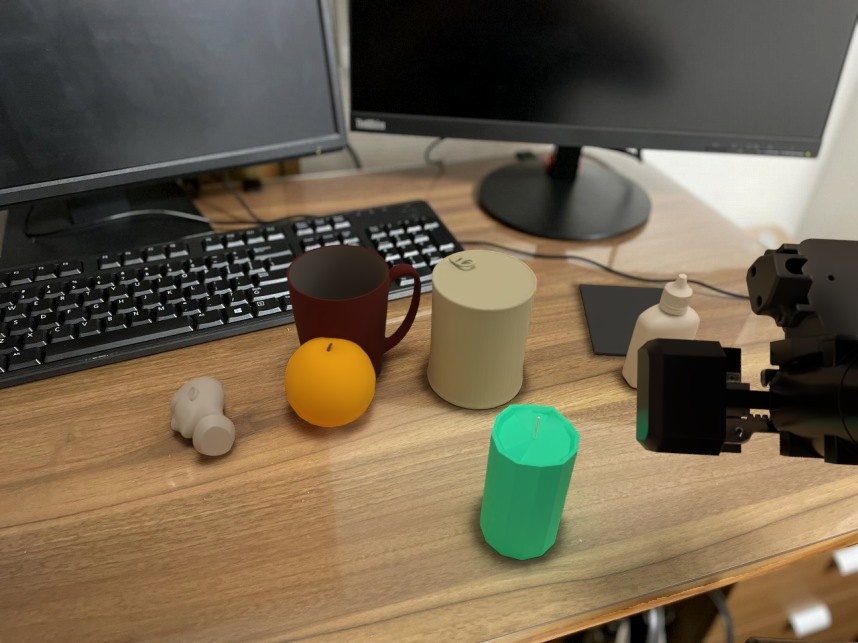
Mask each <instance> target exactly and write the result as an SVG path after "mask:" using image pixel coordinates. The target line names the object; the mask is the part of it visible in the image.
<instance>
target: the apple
mask: <svg viewBox="0 0 858 643" xmlns="http://www.w3.org/2000/svg"><path fill="white" fill-rule="evenodd" d="M283 378H284V379H283V380H284V381H283V384H284V390H285V394H286V398H287V402H288V404H289V405H290V406H291V408H292V409H293V411H294V412H295V414H296V415H297V416H298V417H300V418H301V419H303V420H304V421H306V422H307V423H309V424H311V425H314V426H318V427H321V428H323V427H324V428H336V427H340V426H345V425H347V424H350V423H352V422H354V421H356V420H357V419H358V418H359V417H360V416H362V415H363V414H364V413H365V412H366V411H367V410H368V408H369V406H370V404H371V403H372V401H373V399H374V397H375V393H376V381H377V378H376V376H375V371H374V368H373V366H372V363H371V360H370V358H369V357H368V355H367V354H366V353H365V352H364V351H363V350H362V348H361V347H360V346H358V345H357V344H356V343H354V342H351V341H349V340H345V339H337V338H324V337H319V338H314V339H312V340H309V341H308V342H306V343H305V344H303V345H302V346H300V345H299V347H298V348H297V349H296V350H295V351H294V353H293V354H292V355H291V357H290V358H289V360H288V362H287V364H286V368H285V373H284V377H283Z"/></svg>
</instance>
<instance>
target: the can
mask: <svg viewBox="0 0 858 643" xmlns="http://www.w3.org/2000/svg"><path fill="white" fill-rule="evenodd" d="M537 288H538V280H537V276H536V273H535V272H534V271H533V270H532V268H531V267H530V266H529V265H527V263H525V262H524V261H522V260H521V259H519V258H517V257H515V256H513V255H510V254H508V253H504V252H500V251H497V250H489V249H469V250H461V251H458V252H455V253H452V254H450V255H447V256H446V257H444V258H442V259H441V260H440V261H438V262H437V263H436V265H435V266H434V268H433V270H432V272H431V314H430V315H431V317H430V318H431V319H430V323H431V324H430V343H429V346H430V347H429V361H428V366H427V371H426V375H427V380H428V383H429V386H430V388H432V390H433V392H434V393H435V394H436V395H438V396H439V397H440V398H441V399H442V400H444V401H446V402H447V403H450V404H452V405H453V406H457V407H460V408H465V409H470V410H487V409H493V408H497V407H501V406H502V405H504V404H506V403H508V402H510V401H511V400H513V399H514V398H515V397H516V396H517V395H518V393H519V392H520V390H521V388H522V386H523V382H524V381H523V380H524V377H523V372H524V362H525V356H526V349H527V342H528V336H529V330H530V323H531V317H532V311H533V307H534V300H535V295H536V291H537Z"/></svg>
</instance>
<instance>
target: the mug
mask: <svg viewBox="0 0 858 643" xmlns="http://www.w3.org/2000/svg"><path fill="white" fill-rule="evenodd" d="M389 267H390V266H389V265H388V262H387V261H386V259H384V257H383V256H381V255H380V254H379V253H377V252H375V251H374V250H371V249H369V248H366V247H363V246H358V245H353V244H329V245H323V246H319V247H315V248H312V249H310V250H307V251H305V252H303V253H302V254H300V255H298V256H297V257H295V258H294V259H293V260H292V261H291V262H290V264H289V265H288V267H287V270H286V280H287V281H286V282H287V288H288V294H289V299H290V305H291V310H292V315H293V319H294V324H295V328H296V333H297V338H298V342H299V347H300V346H302V345H303V344H305V343H306V342H308V341H309V340H312V339H314V338H319V337H324V338H337V339H345V340H349V341H351V342H354V343H356V344H357V345H358V346H360V347H361V348H362V350H363V351H364V352H365V353H366V354H367V355H368V357H369V358H370V360H371V363H372V366H373V368H374V371H375V376H376V379H377V378H378V376H379V375H380V373H381V371H382V368H383V363H384V362H383V361H384V355H385V354H387V353H388V352H389V351H391V350H392V349H394V348H395V347H397V346H398V345H399V344H400V343H401V342H402V341H403V340H404V338H405V337H406V336H407V334H408V333H409V332H410V330H411V328H412V326H413V324H414V322H415V319H416V317H417V314H418V311H419V307H420V301H421V296H422V281H421V277H420V275H419V273H418V271H417V269H416V268H415V267H414V266H413V265H411V264H409V263H399V264H396V265H393V266H392V267H391V268H389ZM405 276H406V277H407V276H408V277H411V278H413V289H412V296H411V300H410V304H409V308H408V310H407V312H406V315H405V317H404V319H403V320H402V322H401V324H400V325H399V327H398V328H397V329H396V330H395V331H394V332H393V333H392V334H391V335H390V336H386V330H387V319H388V318H387V317H388V308H389V295H390V289H391V286H392V284H393V283H394V281H395V280H397V279H398V278H401V277H405Z"/></svg>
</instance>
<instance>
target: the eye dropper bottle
mask: <svg viewBox="0 0 858 643" xmlns="http://www.w3.org/2000/svg"><path fill="white" fill-rule="evenodd" d="M687 282H688V275H687V274H685V273H680V274H678V276H677V277H676V279H675V281H669V282H667V283H666V284H664V287H663V288H664V290H663V293H662V296H661V300H660V303H659V304H657V305H654V306H652V307H650V308H649V309H647V310H645V311H644V312H643V313H642V314H641V315H640V316H639V317H638V320H637V322H636V325H635V329H634V332H633V335H632V339H631V342H630V346H629V349H628V353H627V356H625V359H624V364H623V367H622V370H621V373H622V376H623V378H624V380H626V382H627V384H628V385H629V386H630V387H631V388H635V389H637V353H638V349H639V348H640V347H641V346H643V345H644V344H645V343H646V342H647V341H649V340H652V339H656V338H668V339H688V340H695V338H696V336H697V333H698V330H699V326H700V323H701V322H700V321H701V320H700V319H701V318H700V316H699V314H698V313H697V312H696V311H695V310H694V309H693V308H692V307H691V306H690V304H691V300H692V297H693V294H694V290H693V288H691V287H690V286H689V285H688V284H687Z"/></svg>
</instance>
